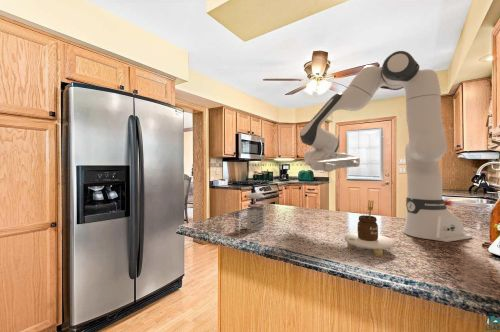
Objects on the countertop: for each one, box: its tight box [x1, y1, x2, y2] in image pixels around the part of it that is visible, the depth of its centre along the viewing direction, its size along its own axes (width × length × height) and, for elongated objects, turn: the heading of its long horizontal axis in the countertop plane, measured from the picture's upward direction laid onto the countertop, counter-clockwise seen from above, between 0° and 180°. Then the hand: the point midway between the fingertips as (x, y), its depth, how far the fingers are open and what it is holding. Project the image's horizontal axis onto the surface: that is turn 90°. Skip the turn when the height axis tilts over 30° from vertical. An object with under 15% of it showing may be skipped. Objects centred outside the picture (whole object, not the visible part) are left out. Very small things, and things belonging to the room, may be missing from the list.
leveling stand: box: [344, 232, 394, 258], centre depth 78 cm, size 14×14×4 cm
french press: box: [245, 170, 271, 231], centre depth 107 cm, size 10×12×25 cm
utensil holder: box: [357, 199, 379, 241], centre depth 78 cm, size 6×6×12 cm
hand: (346, 165), depth 92 cm, fingers open, 8 cm apart
